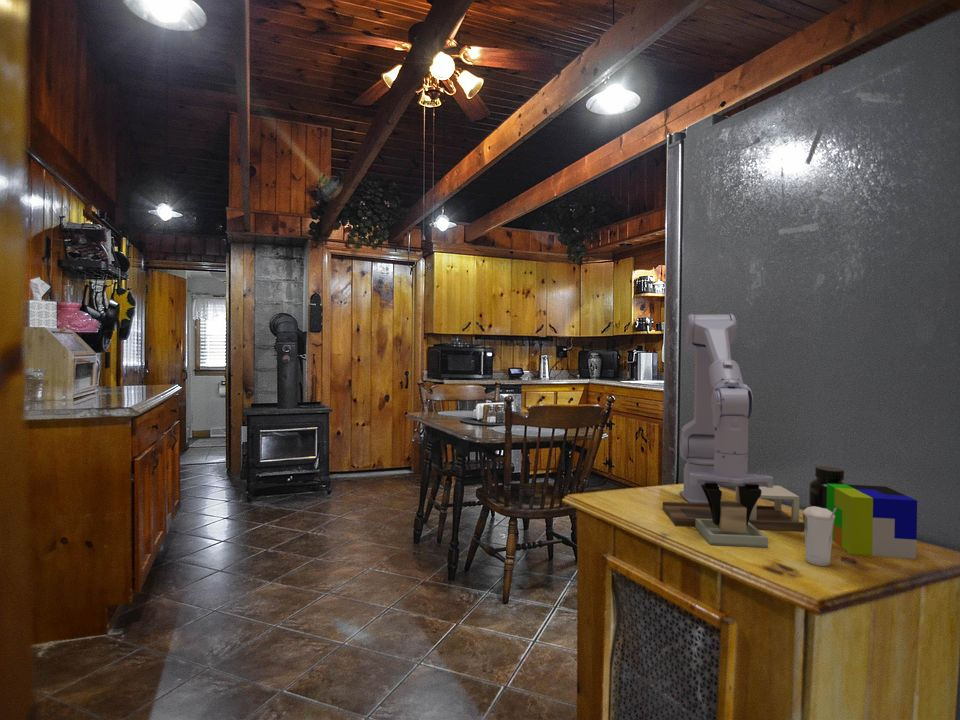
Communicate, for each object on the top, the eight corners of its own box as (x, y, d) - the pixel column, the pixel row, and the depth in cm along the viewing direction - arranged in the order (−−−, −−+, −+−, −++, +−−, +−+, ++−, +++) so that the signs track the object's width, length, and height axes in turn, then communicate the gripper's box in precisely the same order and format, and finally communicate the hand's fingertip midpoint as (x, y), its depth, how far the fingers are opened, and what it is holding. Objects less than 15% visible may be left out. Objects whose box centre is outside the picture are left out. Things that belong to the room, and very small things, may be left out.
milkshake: (823, 571, 87) (824, 508, 86) (795, 559, 92) (796, 499, 92) (845, 568, 88) (846, 506, 88) (816, 556, 93) (817, 498, 93)
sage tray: (695, 527, 108) (695, 518, 108) (747, 529, 107) (747, 520, 107) (710, 544, 98) (710, 535, 98) (767, 547, 97) (767, 537, 97)
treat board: (662, 508, 121) (662, 501, 121) (779, 513, 118) (779, 506, 118) (675, 525, 109) (675, 517, 109) (805, 531, 106) (805, 523, 106)
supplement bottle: (803, 528, 108) (804, 468, 108) (812, 520, 113) (813, 463, 113) (844, 536, 103) (845, 473, 103) (852, 528, 108) (853, 468, 108)
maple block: (713, 523, 105) (714, 500, 105) (737, 524, 104) (738, 501, 104) (721, 530, 101) (721, 507, 101) (746, 531, 100) (746, 508, 100)
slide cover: (732, 507, 118) (733, 479, 118) (779, 509, 117) (779, 481, 116) (748, 520, 109) (749, 489, 109) (798, 522, 108) (799, 491, 108)
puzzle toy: (916, 559, 92) (917, 500, 92) (850, 554, 94) (851, 496, 94) (885, 539, 102) (886, 486, 102) (826, 535, 104) (826, 483, 104)
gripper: (696, 454, 99) (695, 528, 99) (780, 456, 97) (779, 532, 98) (686, 447, 106) (685, 517, 106) (764, 450, 104) (763, 520, 105)
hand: (729, 523), depth 102 cm, fingers closed on maple block, 4 cm apart
